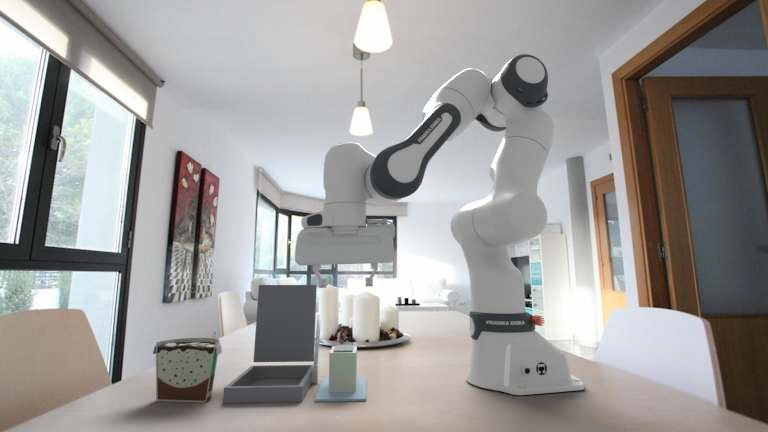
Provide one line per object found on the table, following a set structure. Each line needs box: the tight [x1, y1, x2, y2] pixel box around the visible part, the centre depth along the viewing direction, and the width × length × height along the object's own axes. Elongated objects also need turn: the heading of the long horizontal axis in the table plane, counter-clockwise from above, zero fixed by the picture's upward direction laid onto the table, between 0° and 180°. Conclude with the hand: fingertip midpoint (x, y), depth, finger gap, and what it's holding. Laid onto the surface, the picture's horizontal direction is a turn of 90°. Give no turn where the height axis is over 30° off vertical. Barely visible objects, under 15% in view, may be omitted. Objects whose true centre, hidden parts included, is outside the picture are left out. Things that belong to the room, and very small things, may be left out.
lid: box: [253, 284, 318, 363], centre depth 86 cm, size 13×17×1 cm
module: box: [328, 344, 358, 392], centre depth 75 cm, size 5×7×7 cm
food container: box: [152, 337, 223, 403], centre depth 71 cm, size 12×6×10 cm, turn 84°
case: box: [222, 314, 322, 404], centre depth 76 cm, size 15×18×13 cm
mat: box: [314, 375, 367, 403], centre depth 74 cm, size 9×15×1 cm, turn 3°
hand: (346, 287), depth 77 cm, fingers open, 8 cm apart
